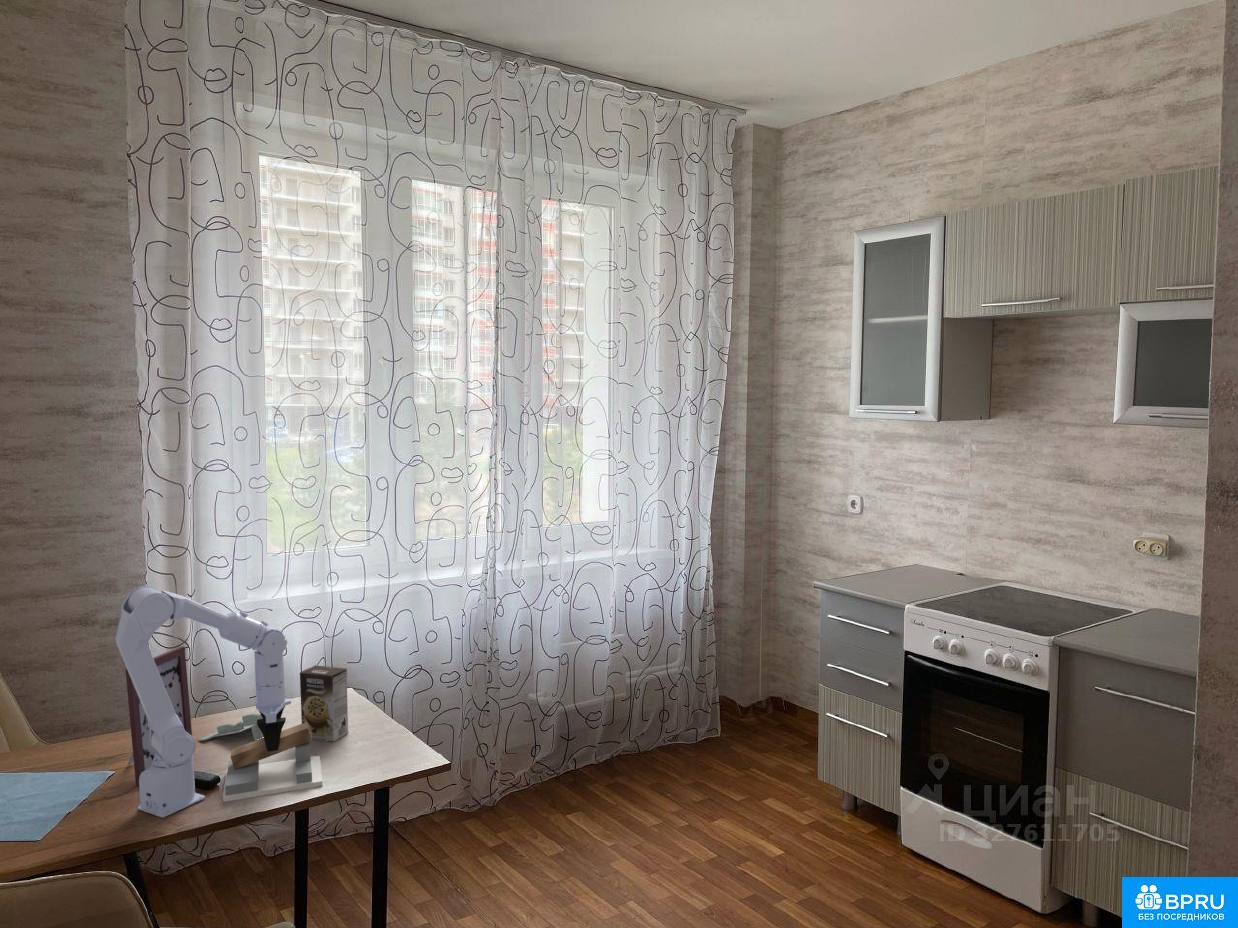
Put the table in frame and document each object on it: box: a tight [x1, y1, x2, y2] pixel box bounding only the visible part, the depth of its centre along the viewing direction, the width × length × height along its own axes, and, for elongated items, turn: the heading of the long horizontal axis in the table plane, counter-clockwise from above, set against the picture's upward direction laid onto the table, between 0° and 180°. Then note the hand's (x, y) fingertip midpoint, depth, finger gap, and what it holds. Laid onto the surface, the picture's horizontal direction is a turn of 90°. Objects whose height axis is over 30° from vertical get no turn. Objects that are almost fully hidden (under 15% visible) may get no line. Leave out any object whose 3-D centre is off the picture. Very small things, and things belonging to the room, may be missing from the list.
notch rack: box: [222, 741, 323, 803], centre depth 187 cm, size 19×14×6 cm
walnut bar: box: [229, 722, 313, 769], centre depth 189 cm, size 16×4×3 cm, turn 111°
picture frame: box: [125, 646, 193, 786], centre depth 193 cm, size 17×10×25 cm, turn 168°
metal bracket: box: [197, 713, 263, 742], centre depth 212 cm, size 14×6×15 cm
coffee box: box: [299, 665, 349, 742], centre depth 210 cm, size 9×6×16 cm
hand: (273, 743), depth 189 cm, fingers open, 7 cm apart
